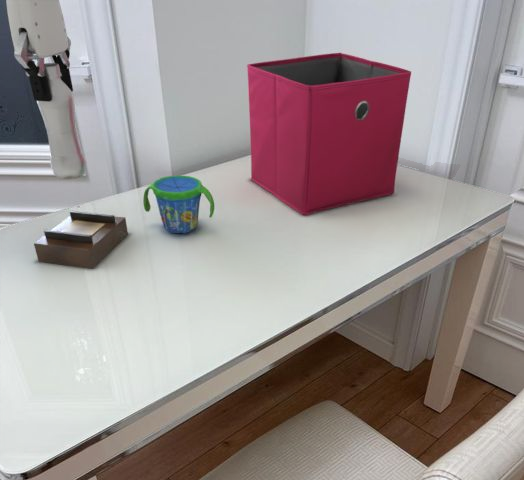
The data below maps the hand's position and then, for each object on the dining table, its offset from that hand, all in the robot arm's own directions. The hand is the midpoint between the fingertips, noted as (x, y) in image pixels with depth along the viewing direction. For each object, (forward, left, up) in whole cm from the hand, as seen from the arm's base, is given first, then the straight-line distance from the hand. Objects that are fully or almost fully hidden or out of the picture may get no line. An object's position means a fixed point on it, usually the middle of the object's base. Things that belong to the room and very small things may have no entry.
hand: (54, 95), depth 99 cm
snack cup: (+17, +12, -29) cm, 36 cm away
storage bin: (+43, +44, -29) cm, 68 cm away
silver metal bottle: (0, 0, -15) cm, 15 cm away
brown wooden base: (+1, -2, -29) cm, 29 cm away
